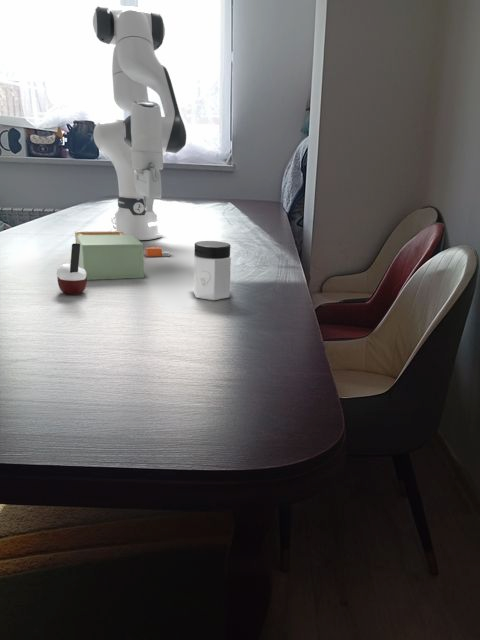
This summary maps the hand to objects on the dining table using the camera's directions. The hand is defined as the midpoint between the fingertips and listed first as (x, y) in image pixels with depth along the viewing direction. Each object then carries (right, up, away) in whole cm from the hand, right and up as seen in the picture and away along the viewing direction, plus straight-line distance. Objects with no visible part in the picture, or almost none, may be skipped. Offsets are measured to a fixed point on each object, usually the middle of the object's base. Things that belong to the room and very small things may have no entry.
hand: (148, 211), depth 153 cm
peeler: (+1, -12, +6) cm, 13 cm away
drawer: (-12, -15, -6) cm, 20 cm away
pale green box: (-6, -21, -18) cm, 28 cm away
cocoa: (-8, -29, -38) cm, 49 cm away
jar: (+22, -29, -33) cm, 49 cm away
